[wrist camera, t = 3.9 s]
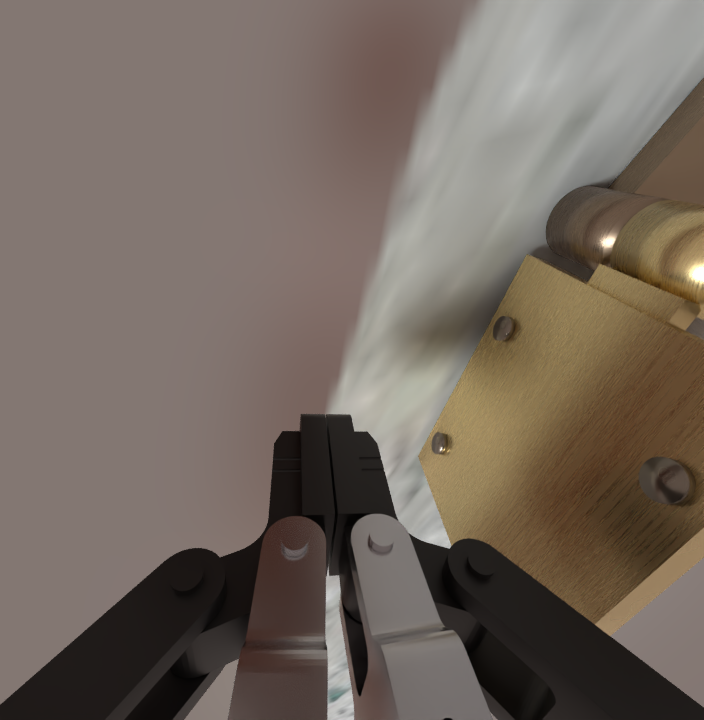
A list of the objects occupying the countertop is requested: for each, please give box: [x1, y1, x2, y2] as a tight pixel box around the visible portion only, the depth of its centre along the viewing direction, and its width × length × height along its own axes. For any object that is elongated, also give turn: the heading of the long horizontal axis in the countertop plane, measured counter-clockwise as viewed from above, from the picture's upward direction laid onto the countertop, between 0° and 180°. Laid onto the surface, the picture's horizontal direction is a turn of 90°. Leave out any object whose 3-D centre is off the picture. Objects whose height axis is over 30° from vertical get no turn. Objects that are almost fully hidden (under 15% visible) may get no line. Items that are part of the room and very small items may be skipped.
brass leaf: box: [418, 200, 704, 636], centre depth 12 cm, size 12×3×9 cm, turn 162°
